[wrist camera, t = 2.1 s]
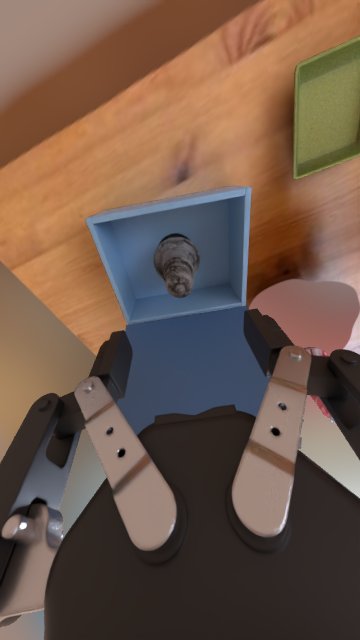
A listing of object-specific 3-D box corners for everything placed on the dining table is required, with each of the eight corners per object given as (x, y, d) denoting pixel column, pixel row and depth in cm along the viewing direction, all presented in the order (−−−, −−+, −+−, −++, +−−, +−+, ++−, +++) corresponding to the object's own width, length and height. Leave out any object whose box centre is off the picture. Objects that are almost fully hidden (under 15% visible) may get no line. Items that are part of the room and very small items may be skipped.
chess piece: (192, 225, 25) (208, 252, 15) (199, 267, 28) (217, 312, 19) (148, 237, 26) (137, 270, 16) (161, 277, 29) (159, 325, 19)
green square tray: (383, 30, 17) (406, 13, 16) (361, 152, 22) (377, 149, 20) (283, 75, 18) (295, 64, 17) (283, 181, 23) (293, 181, 22)
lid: (106, 447, 16) (110, 449, 17) (304, 421, 15) (301, 423, 16) (126, 324, 26) (127, 328, 26) (247, 305, 25) (246, 309, 26)
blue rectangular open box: (103, 210, 24) (84, 218, 19) (232, 185, 23) (251, 186, 18) (134, 300, 32) (127, 324, 26) (232, 284, 31) (245, 305, 26)
